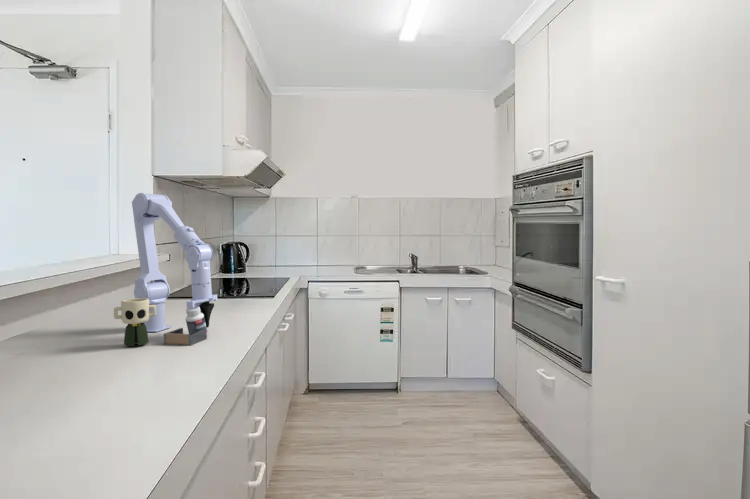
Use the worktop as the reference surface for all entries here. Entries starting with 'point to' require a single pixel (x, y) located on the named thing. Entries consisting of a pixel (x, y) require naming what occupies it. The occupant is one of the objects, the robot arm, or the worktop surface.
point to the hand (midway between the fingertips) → (204, 327)
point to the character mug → (135, 319)
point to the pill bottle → (195, 320)
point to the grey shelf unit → (184, 337)
